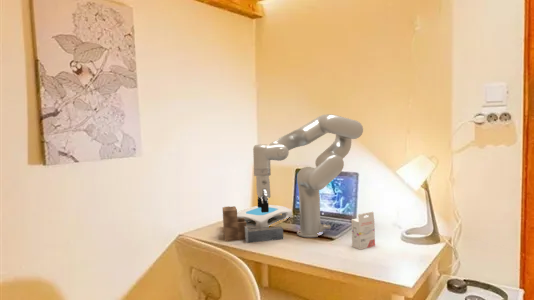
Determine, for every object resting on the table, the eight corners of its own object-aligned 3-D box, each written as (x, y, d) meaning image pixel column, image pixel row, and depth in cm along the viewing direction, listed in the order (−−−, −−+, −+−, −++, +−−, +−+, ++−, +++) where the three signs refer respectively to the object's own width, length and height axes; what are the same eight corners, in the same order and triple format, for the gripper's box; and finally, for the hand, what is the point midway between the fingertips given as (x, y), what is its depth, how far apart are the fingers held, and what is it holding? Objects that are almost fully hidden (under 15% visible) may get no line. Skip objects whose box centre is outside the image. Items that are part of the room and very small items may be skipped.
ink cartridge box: (367, 242, 164) (366, 209, 163) (375, 246, 159) (374, 211, 158) (351, 246, 160) (350, 212, 159) (359, 250, 155) (358, 214, 154)
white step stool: (230, 225, 200) (229, 214, 199) (263, 213, 222) (262, 203, 222) (261, 231, 187) (261, 219, 187) (293, 218, 209) (292, 207, 209)
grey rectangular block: (281, 237, 177) (281, 222, 176) (283, 239, 173) (282, 224, 173) (244, 240, 174) (244, 225, 173) (245, 243, 170) (245, 227, 170)
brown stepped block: (241, 226, 197) (240, 199, 195) (247, 239, 175) (245, 209, 174) (222, 228, 195) (220, 201, 194) (225, 241, 173) (223, 211, 172)
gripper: (274, 174, 163) (275, 213, 164) (266, 169, 180) (267, 205, 181) (256, 175, 162) (257, 214, 163) (251, 170, 179) (252, 206, 180)
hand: (263, 209), depth 172 cm, fingers open, 9 cm apart
